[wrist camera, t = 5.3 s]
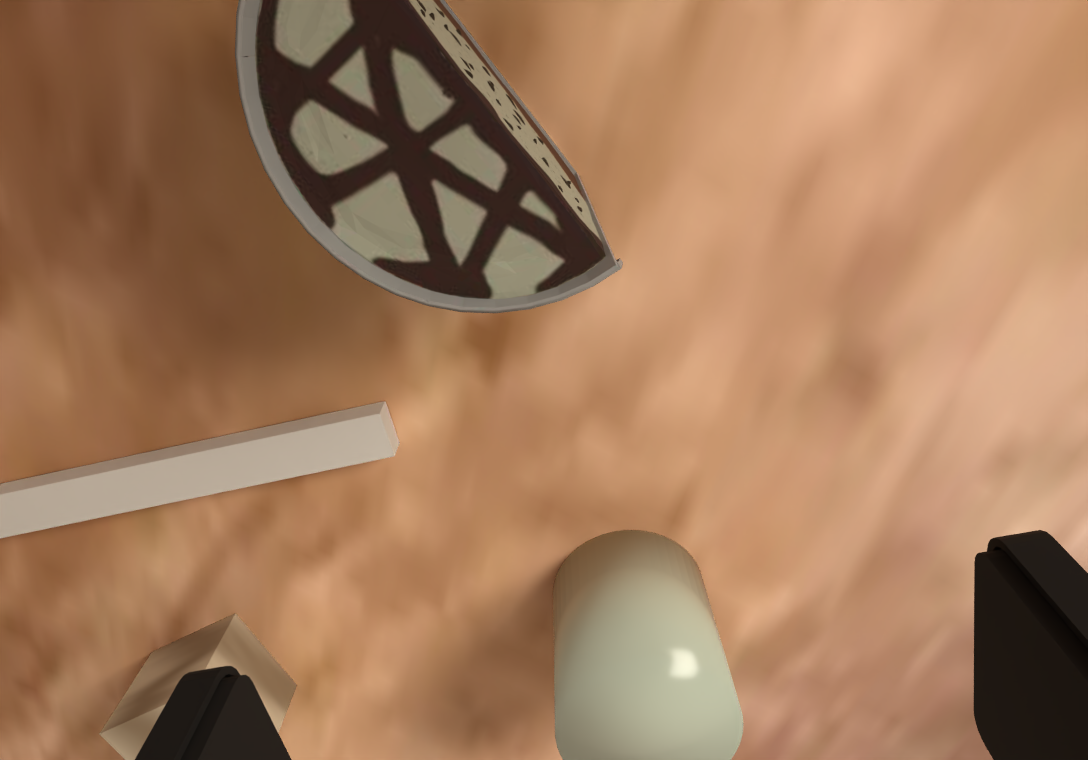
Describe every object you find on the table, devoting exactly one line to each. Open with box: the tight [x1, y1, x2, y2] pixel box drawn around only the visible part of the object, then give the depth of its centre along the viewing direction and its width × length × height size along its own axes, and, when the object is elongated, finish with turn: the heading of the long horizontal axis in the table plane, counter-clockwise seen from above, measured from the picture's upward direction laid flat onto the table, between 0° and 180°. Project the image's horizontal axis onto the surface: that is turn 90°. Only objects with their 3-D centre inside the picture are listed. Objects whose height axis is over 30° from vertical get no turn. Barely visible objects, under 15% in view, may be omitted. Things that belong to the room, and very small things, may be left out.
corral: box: [0, 401, 400, 538], centre depth 29 cm, size 20×24×1 cm
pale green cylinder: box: [553, 530, 743, 760], centre depth 33 cm, size 7×7×8 cm
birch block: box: [100, 613, 297, 760], centre depth 36 cm, size 5×5×5 cm
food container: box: [235, 0, 623, 313], centre depth 24 cm, size 12×6×10 cm, turn 39°
